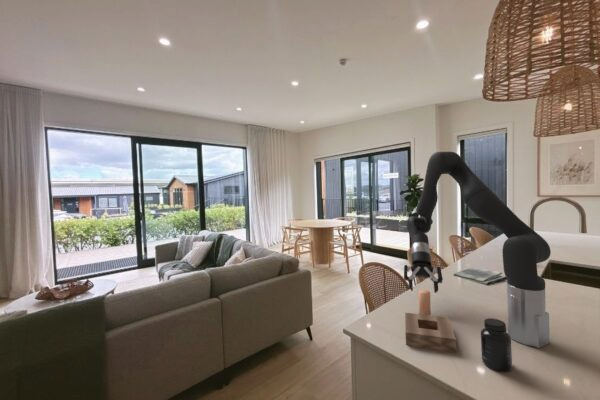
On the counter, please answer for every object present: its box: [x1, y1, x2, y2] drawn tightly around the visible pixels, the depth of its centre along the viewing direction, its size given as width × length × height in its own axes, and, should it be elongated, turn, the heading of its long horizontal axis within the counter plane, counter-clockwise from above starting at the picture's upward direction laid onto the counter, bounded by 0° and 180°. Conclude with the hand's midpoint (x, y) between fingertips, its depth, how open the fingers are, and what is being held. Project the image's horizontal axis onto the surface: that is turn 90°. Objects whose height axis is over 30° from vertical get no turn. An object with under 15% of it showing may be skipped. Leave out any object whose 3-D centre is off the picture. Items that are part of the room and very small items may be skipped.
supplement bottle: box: [480, 317, 513, 373], centre depth 73 cm, size 7×7×12 cm
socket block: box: [404, 312, 457, 353], centre depth 88 cm, size 14×14×4 cm
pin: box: [418, 289, 432, 316], centre depth 101 cm, size 4×4×10 cm
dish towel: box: [453, 267, 507, 286], centre depth 141 cm, size 19×18×3 cm
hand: (423, 290), depth 104 cm, fingers open, 8 cm apart
